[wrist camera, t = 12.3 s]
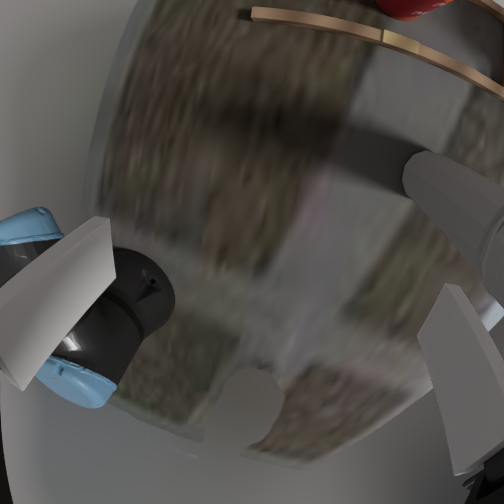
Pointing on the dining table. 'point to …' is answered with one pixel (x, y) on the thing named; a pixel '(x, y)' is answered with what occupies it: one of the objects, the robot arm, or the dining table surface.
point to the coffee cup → (409, 7)
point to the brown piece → (387, 40)
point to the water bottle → (462, 212)
